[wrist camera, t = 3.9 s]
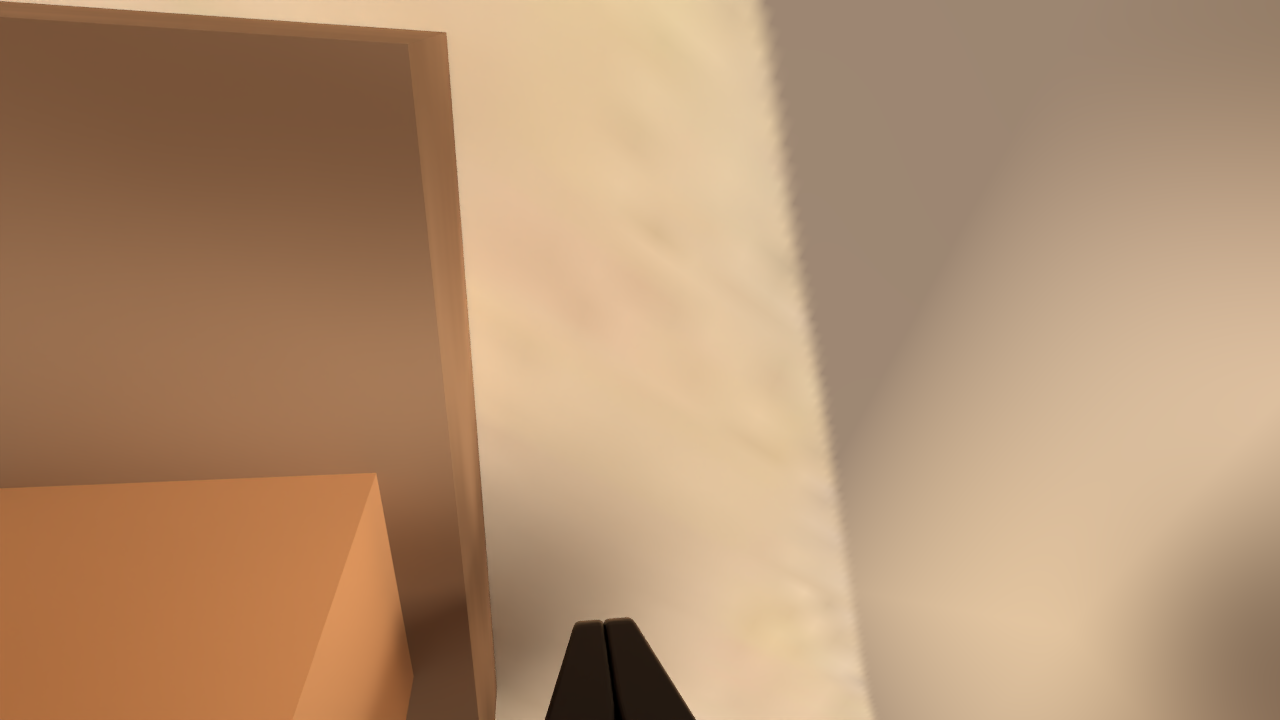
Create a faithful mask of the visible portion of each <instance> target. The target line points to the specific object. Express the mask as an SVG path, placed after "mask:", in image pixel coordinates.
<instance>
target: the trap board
mask: <svg viewBox="0 0 1280 720" xmlns="http://www.w3.org/2000/svg"><path fill="white" fill-rule="evenodd" d="M359 473H376V474H377V480H378V485H379V491H380V496H381V502H382V507H383V512H384V518H385V523H386V529H387V534H388V540H389V545H390V550H391V556H392V561H393V567H394V572H395V578H396V583H397V588H398V594H399V599H400V605H401V610H402V616H403V621H404V626H405V632H406V637H407V643H408V648H409V654H410V659H411V664H412V670H413V675H414V678H413V683H412V689H411V694H410V700H409V706H408V711H407V717H406V720H495V712H496V694H497V685H496V672H495V659H494V646H493V633H492V620H491V607H490V594H489V581H488V568H487V555H486V542H485V529H484V516H483V503H482V490H481V477H480V464H479V451H478V438H477V425H476V413H475V400H474V387H473V374H472V361H471V348H470V335H469V322H468V309H467V296H466V283H465V270H464V257H463V244H462V231H461V218H460V205H459V192H458V179H457V166H456V153H455V140H454V127H453V114H452V101H451V88H450V75H449V62H448V49H447V36H446V33H445V32H431V31H417V30H403V29H388V28H374V27H360V26H346V25H331V24H317V23H303V22H289V21H274V20H260V19H246V18H231V17H217V16H203V15H189V14H174V13H160V12H146V11H132V10H117V9H103V8H89V7H75V6H60V5H46V4H32V3H18V2H3V1H0V488H23V487H47V486H71V485H95V484H119V483H143V482H167V481H191V480H215V479H239V478H263V477H287V476H311V475H335V474H359Z"/></svg>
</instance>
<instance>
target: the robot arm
mask: <svg viewBox="0 0 1280 720" xmlns="http://www.w3.org/2000/svg"><path fill="white" fill-rule="evenodd" d="M545 720H696V719H695V717H694V716H693V714H692V713H691V711H690V709H689V708H688V706H687V705H686V703H685V701H684V700H683V698H682V697H681V695H680V693H679V692H678V690H677V689H676V687H675V685H674V684H673V682H672V681H671V679H670V677H669V676H668V674H667V673H666V671H665V669H664V668H663V666H662V665H661V663H660V661H659V660H658V658H657V657H656V655H655V653H654V652H653V650H652V649H651V647H650V645H649V644H648V642H647V641H646V639H645V637H644V636H643V634H642V633H641V631H640V629H639V628H638V626H637V625H636V623H635V622H634V621H633V620H632V619H631V618H629V617H625V618H613V619H607V620H605V622H604V624H603V622H602V621H600V620H588V621H578V622H576V623H575V625H574V627H573V630H572V633H571V636H570V640H569V643H568V646H567V649H566V653H565V656H564V659H563V662H562V666H561V669H560V672H559V675H558V679H557V682H556V685H555V688H554V691H553V695H552V698H551V701H550V704H549V708H548V711H547V714H546V717H545Z"/></svg>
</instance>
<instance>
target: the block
mask: <svg viewBox="0 0 1280 720" xmlns="http://www.w3.org/2000/svg"><path fill="white" fill-rule="evenodd" d="M413 678H414V675H413V670H412V664H411V659H410V654H409V648H408V643H407V637H406V632H405V626H404V621H403V616H402V610H401V605H400V599H399V594H398V588H397V583H396V578H395V572H394V567H393V561H392V556H391V550H390V545H389V540H388V534H387V529H386V523H385V518H384V512H383V507H382V502H381V496H380V491H379V485H378V480H377V474H376V473H359V474H335V475H311V476H287V477H263V478H239V479H215V480H191V481H167V482H143V483H119V484H95V485H71V486H47V487H23V488H0V720H406V717H407V711H408V706H409V700H410V694H411V689H412V683H413Z"/></svg>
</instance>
